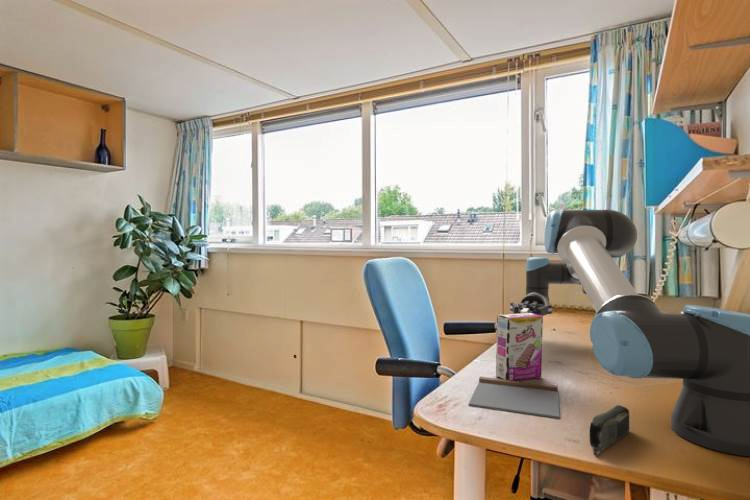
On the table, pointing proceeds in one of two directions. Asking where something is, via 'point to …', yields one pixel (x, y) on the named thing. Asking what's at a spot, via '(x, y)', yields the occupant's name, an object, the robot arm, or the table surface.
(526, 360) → the candy bar box
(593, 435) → the mobile phone
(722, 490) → the table surface
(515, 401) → the mat
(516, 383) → the strip
